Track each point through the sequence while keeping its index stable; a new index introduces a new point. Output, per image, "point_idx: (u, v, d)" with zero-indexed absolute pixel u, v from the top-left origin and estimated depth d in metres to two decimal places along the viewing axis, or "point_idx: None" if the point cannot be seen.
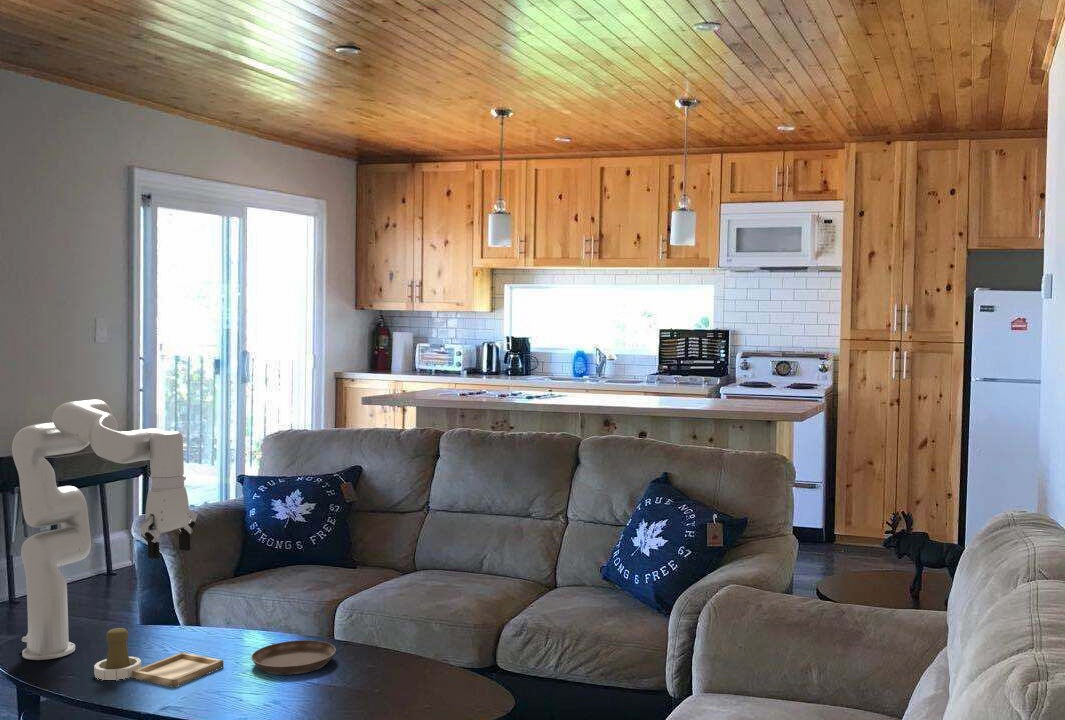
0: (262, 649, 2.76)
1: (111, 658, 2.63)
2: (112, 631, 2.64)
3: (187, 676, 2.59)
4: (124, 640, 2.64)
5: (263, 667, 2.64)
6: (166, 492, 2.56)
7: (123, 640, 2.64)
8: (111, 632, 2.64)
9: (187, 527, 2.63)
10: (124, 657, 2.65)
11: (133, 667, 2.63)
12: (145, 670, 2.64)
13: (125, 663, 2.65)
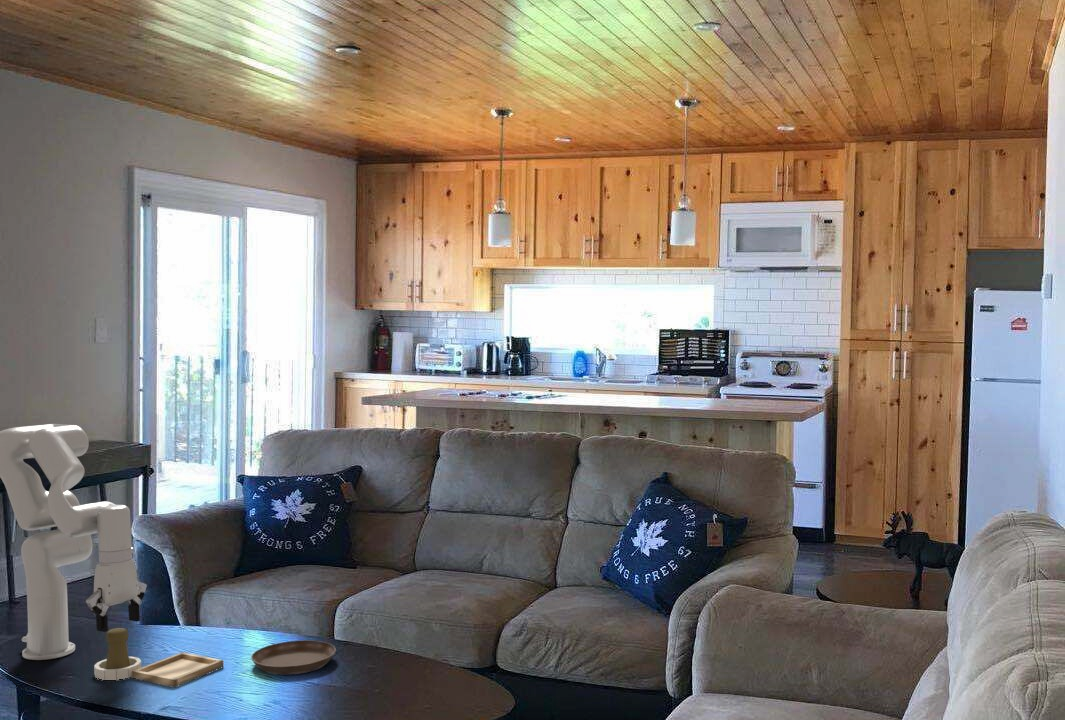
0: (262, 649, 2.76)
1: (111, 658, 2.63)
2: (112, 631, 2.64)
3: (187, 676, 2.59)
4: (124, 640, 2.64)
5: (263, 667, 2.64)
6: (113, 566, 2.61)
7: (123, 640, 2.64)
8: (111, 632, 2.64)
9: (136, 598, 2.68)
10: (124, 657, 2.65)
11: (133, 667, 2.63)
12: (145, 670, 2.64)
13: (125, 663, 2.65)
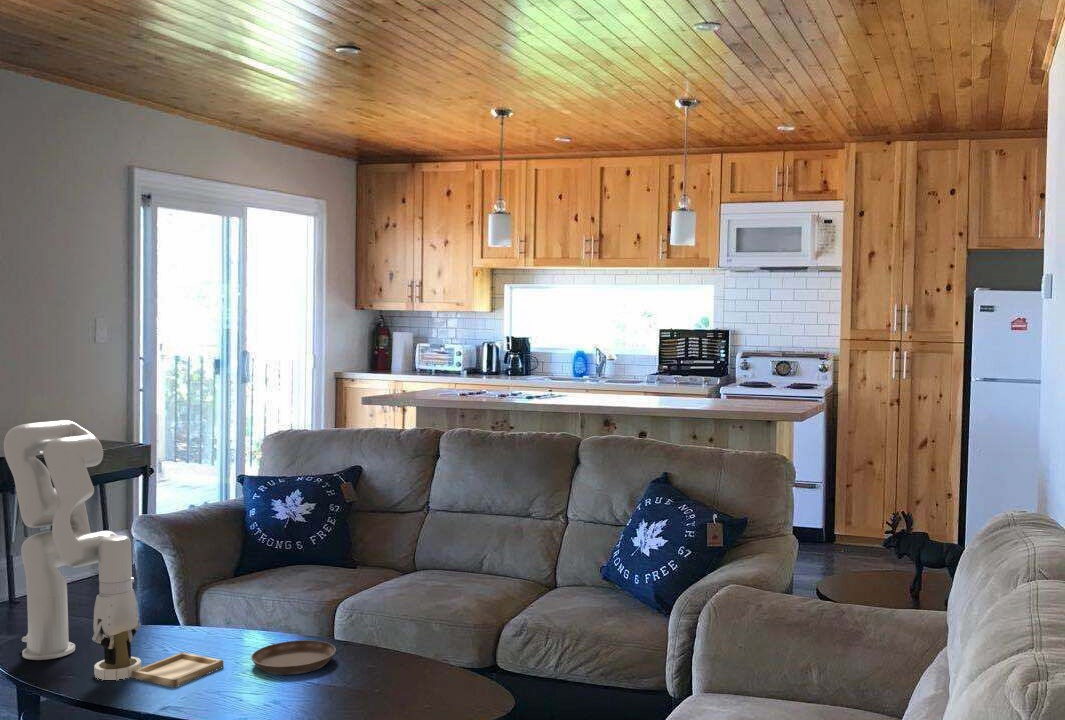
0: (262, 649, 2.76)
1: None
2: None
3: (187, 676, 2.59)
4: (124, 640, 2.64)
5: (263, 667, 2.64)
6: (114, 597, 2.62)
7: (123, 640, 2.64)
8: None
9: (130, 634, 2.67)
10: (124, 657, 2.65)
11: (133, 667, 2.63)
12: (145, 670, 2.64)
13: (125, 663, 2.65)
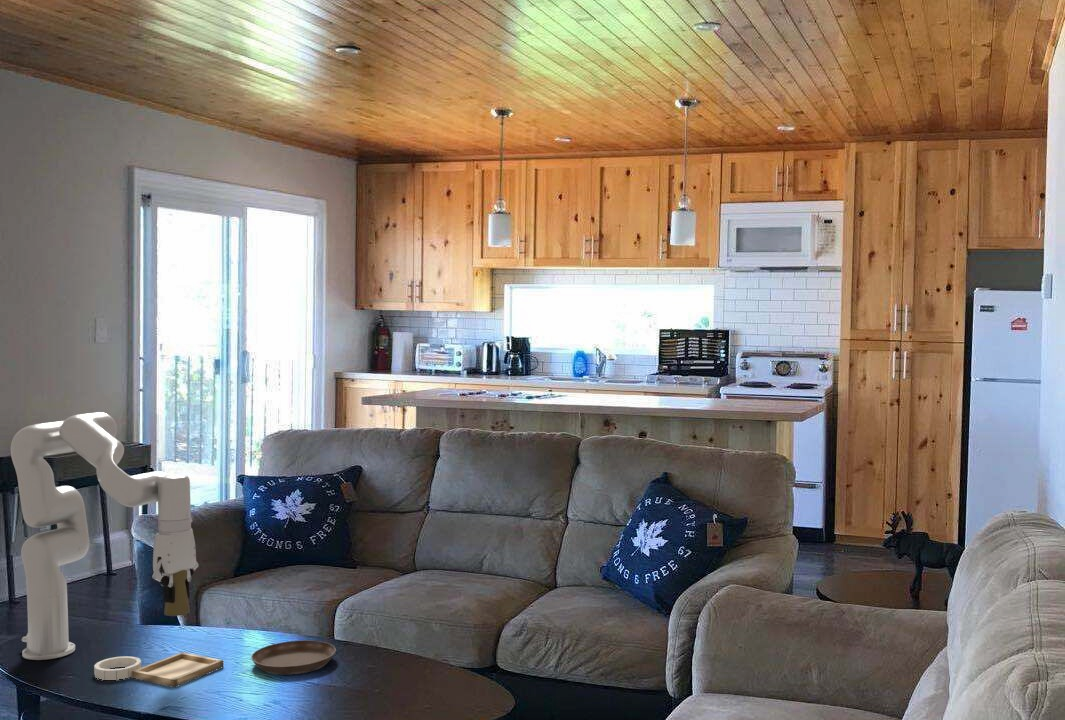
0: (262, 649, 2.76)
1: None
2: None
3: (187, 676, 2.59)
4: (183, 579, 2.64)
5: (263, 667, 2.64)
6: (173, 535, 2.61)
7: (182, 578, 2.63)
8: None
9: (188, 573, 2.67)
10: (184, 595, 2.64)
11: (133, 667, 2.63)
12: (145, 670, 2.64)
13: (184, 602, 2.64)
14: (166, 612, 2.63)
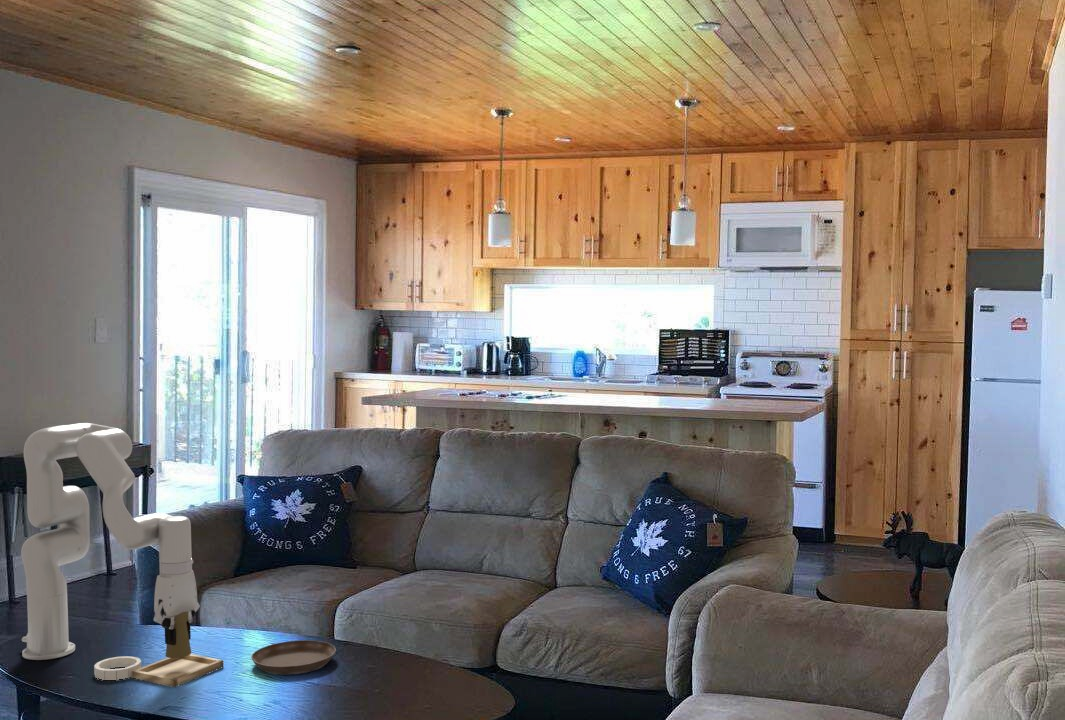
0: (262, 649, 2.76)
1: None
2: None
3: (187, 676, 2.59)
4: (185, 621, 2.64)
5: (263, 667, 2.64)
6: (174, 577, 2.61)
7: (183, 620, 2.64)
8: None
9: (189, 615, 2.67)
10: (185, 637, 2.64)
11: (133, 667, 2.63)
12: (145, 670, 2.64)
13: (186, 644, 2.64)
14: (167, 654, 2.63)
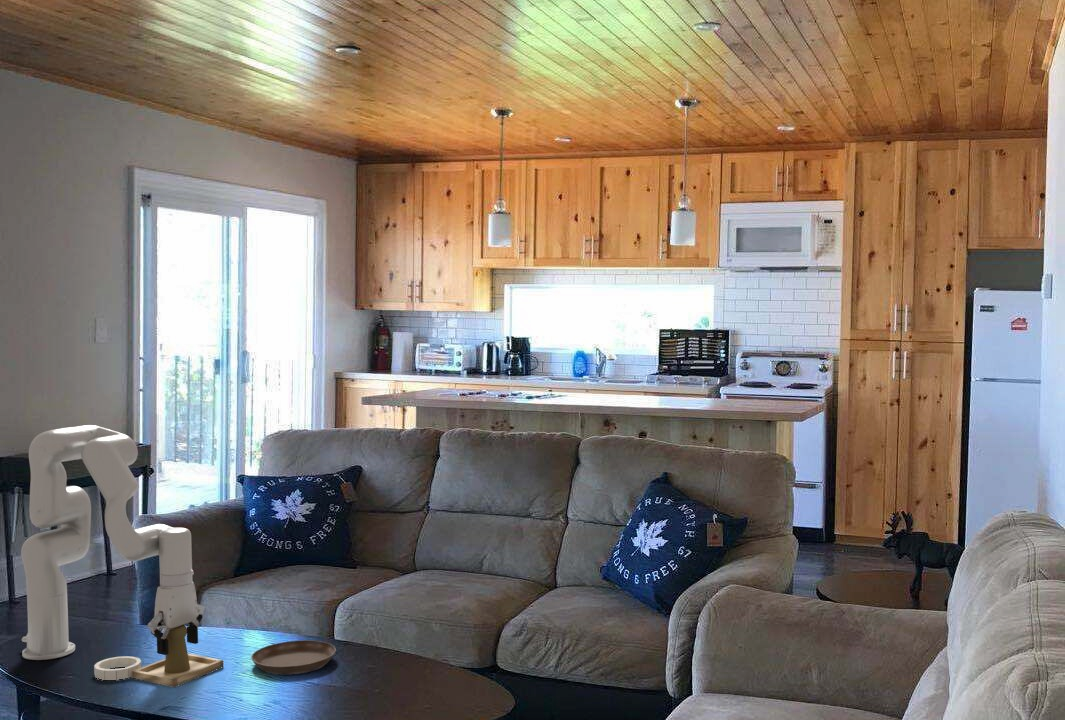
0: (262, 649, 2.76)
1: (171, 654, 2.63)
2: None
3: (187, 676, 2.59)
4: (183, 636, 2.65)
5: (263, 667, 2.64)
6: (175, 589, 2.62)
7: (182, 635, 2.64)
8: None
9: (195, 621, 2.69)
10: (184, 652, 2.65)
11: (133, 667, 2.63)
12: (145, 670, 2.64)
13: (184, 659, 2.65)
14: (166, 669, 2.64)
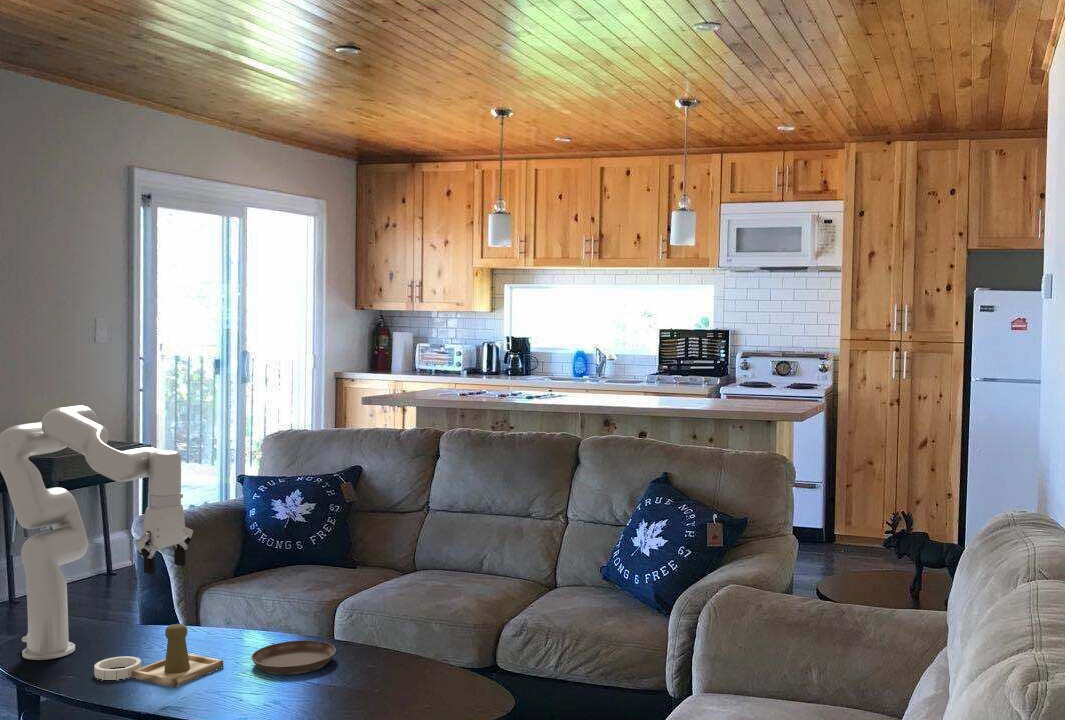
0: (262, 649, 2.76)
1: (171, 654, 2.63)
2: (172, 627, 2.64)
3: (187, 676, 2.59)
4: (184, 636, 2.65)
5: (263, 667, 2.64)
6: (163, 510, 2.65)
7: (183, 636, 2.64)
8: (171, 628, 2.64)
9: (183, 543, 2.72)
10: (184, 653, 2.65)
11: (133, 667, 2.63)
12: (145, 670, 2.64)
13: (185, 659, 2.65)
14: (166, 669, 2.64)
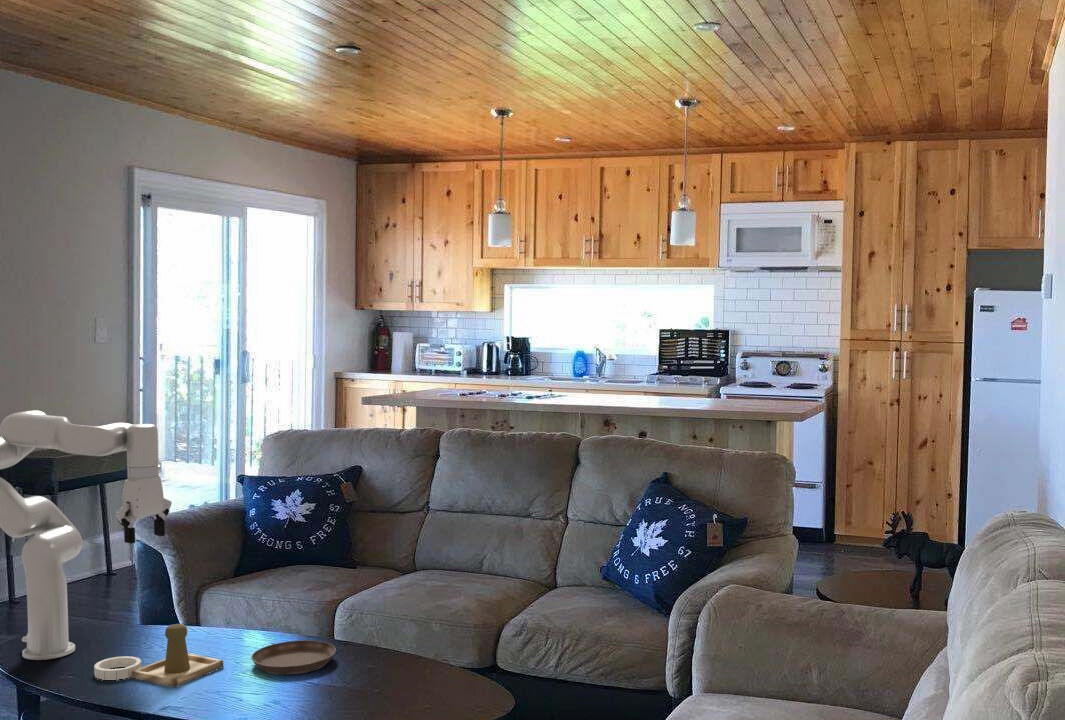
0: (262, 649, 2.76)
1: (171, 654, 2.63)
2: (171, 627, 2.64)
3: (187, 676, 2.59)
4: (184, 636, 2.65)
5: (263, 667, 2.64)
6: (141, 481, 2.74)
7: (182, 636, 2.64)
8: (171, 628, 2.64)
9: (162, 514, 2.81)
10: (184, 653, 2.65)
11: (133, 667, 2.63)
12: (145, 670, 2.64)
13: (185, 659, 2.65)
14: (166, 669, 2.64)
